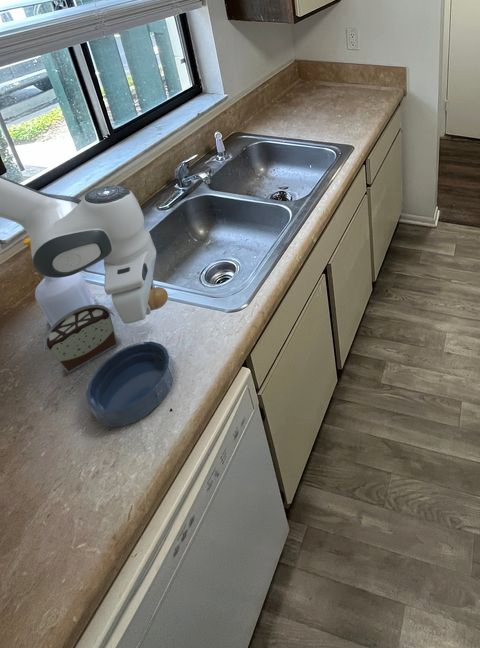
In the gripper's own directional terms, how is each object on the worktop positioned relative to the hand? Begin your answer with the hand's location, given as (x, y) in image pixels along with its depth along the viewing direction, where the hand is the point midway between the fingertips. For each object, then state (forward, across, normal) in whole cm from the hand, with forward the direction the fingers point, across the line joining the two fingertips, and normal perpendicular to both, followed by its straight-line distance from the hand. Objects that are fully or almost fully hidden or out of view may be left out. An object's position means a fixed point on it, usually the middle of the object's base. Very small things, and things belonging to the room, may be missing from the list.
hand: (148, 301), depth 96 cm
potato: (+2, 0, 0) cm, 2 cm away
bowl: (+10, +13, -3) cm, 17 cm away
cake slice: (+10, -1, -14) cm, 17 cm away
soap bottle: (+10, -13, -20) cm, 26 cm away
